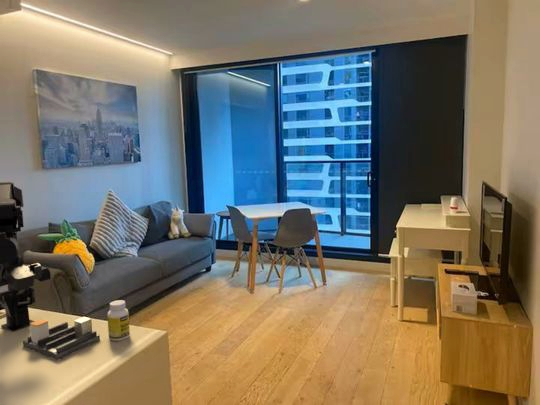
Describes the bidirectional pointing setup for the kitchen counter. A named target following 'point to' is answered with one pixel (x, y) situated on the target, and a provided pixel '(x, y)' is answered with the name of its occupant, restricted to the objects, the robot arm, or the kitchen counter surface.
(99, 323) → the kitchen counter surface
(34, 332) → the block
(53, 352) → the breaker panel
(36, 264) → the robot arm
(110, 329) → the supplement bottle
